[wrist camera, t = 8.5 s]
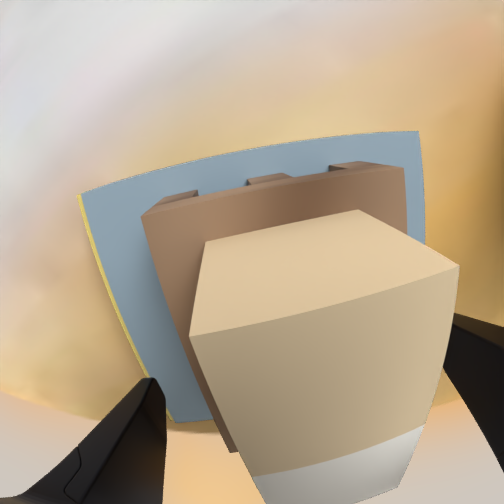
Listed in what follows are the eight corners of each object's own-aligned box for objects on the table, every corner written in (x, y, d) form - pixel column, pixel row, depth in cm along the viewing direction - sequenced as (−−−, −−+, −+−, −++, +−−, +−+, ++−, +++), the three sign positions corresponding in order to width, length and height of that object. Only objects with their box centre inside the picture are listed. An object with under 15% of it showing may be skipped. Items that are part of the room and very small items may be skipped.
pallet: (359, 161, 10) (404, 167, 7) (365, 371, 13) (389, 413, 11) (163, 197, 10) (140, 216, 7) (227, 404, 13) (229, 452, 10)
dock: (383, 132, 13) (418, 131, 10) (389, 338, 17) (412, 368, 14) (103, 185, 12) (74, 195, 9) (175, 386, 16) (170, 423, 14)
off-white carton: (364, 333, 9) (424, 424, 5) (360, 409, 10) (397, 487, 6) (240, 364, 9) (251, 477, 5) (263, 435, 10) (276, 522, 6)
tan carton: (358, 209, 7) (459, 265, 4) (364, 333, 9) (424, 424, 5) (205, 241, 7) (188, 336, 4) (240, 364, 9) (251, 477, 5)
